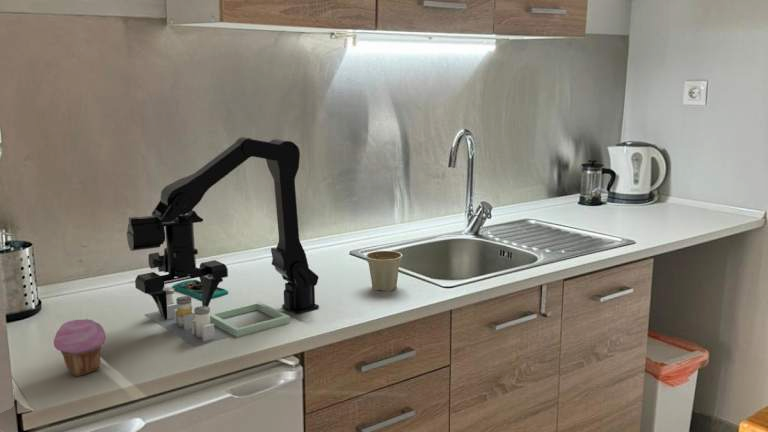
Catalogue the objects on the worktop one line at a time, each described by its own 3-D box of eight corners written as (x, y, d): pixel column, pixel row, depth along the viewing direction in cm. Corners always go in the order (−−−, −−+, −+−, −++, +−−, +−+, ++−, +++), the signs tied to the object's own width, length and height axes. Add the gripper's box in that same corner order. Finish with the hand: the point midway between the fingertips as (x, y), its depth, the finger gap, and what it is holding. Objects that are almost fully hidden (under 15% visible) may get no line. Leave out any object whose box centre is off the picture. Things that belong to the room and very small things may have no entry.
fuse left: (172, 311, 165) (170, 286, 164) (178, 315, 163) (176, 289, 162) (159, 314, 163) (157, 289, 162) (165, 318, 161) (163, 292, 160)
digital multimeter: (195, 288, 188) (194, 277, 187) (230, 300, 178) (229, 288, 178) (170, 295, 183) (169, 283, 182) (204, 307, 173) (204, 296, 172)
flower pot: (358, 288, 186) (357, 255, 184) (383, 280, 193) (382, 248, 191) (385, 295, 180) (384, 262, 178) (409, 287, 186) (410, 254, 185)
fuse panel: (178, 311, 169) (177, 294, 168) (230, 342, 150) (229, 322, 149) (144, 319, 164) (143, 301, 163) (194, 352, 145) (193, 332, 144)
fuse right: (207, 332, 153) (205, 304, 151) (214, 336, 150) (212, 308, 149) (193, 335, 151) (191, 308, 149) (200, 339, 148) (198, 312, 147)
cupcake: (71, 385, 131) (65, 332, 128) (49, 372, 136) (43, 321, 134) (117, 369, 137) (112, 319, 135) (94, 357, 143) (89, 309, 141)
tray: (259, 312, 168) (259, 301, 167) (290, 327, 158) (290, 316, 158) (208, 325, 160) (207, 314, 159) (237, 342, 150) (236, 330, 150)
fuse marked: (189, 321, 159) (187, 295, 158) (195, 325, 157) (193, 298, 155) (175, 324, 157) (173, 298, 156) (181, 328, 155) (180, 301, 153)
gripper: (203, 231, 165) (207, 296, 168) (122, 244, 153) (128, 314, 156) (227, 239, 157) (231, 308, 160) (143, 254, 145) (149, 328, 148)
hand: (185, 314), depth 156 cm, fingers open, 9 cm apart
